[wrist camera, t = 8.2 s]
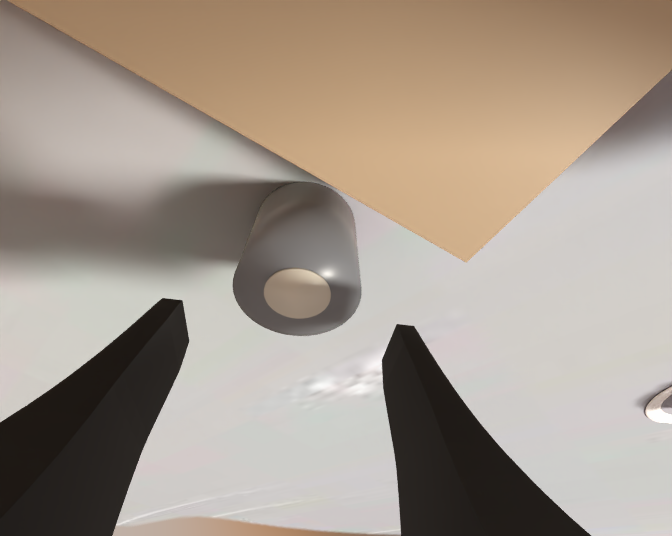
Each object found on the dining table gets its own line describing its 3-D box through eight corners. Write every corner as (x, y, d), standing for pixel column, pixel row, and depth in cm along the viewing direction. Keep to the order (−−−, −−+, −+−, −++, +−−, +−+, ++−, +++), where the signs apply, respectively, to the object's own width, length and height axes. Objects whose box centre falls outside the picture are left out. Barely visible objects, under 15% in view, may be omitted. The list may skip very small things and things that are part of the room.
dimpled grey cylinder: (374, 213, 16) (387, 278, 12) (324, 279, 19) (321, 351, 15) (283, 161, 15) (263, 217, 11) (242, 241, 17) (214, 310, 13)
